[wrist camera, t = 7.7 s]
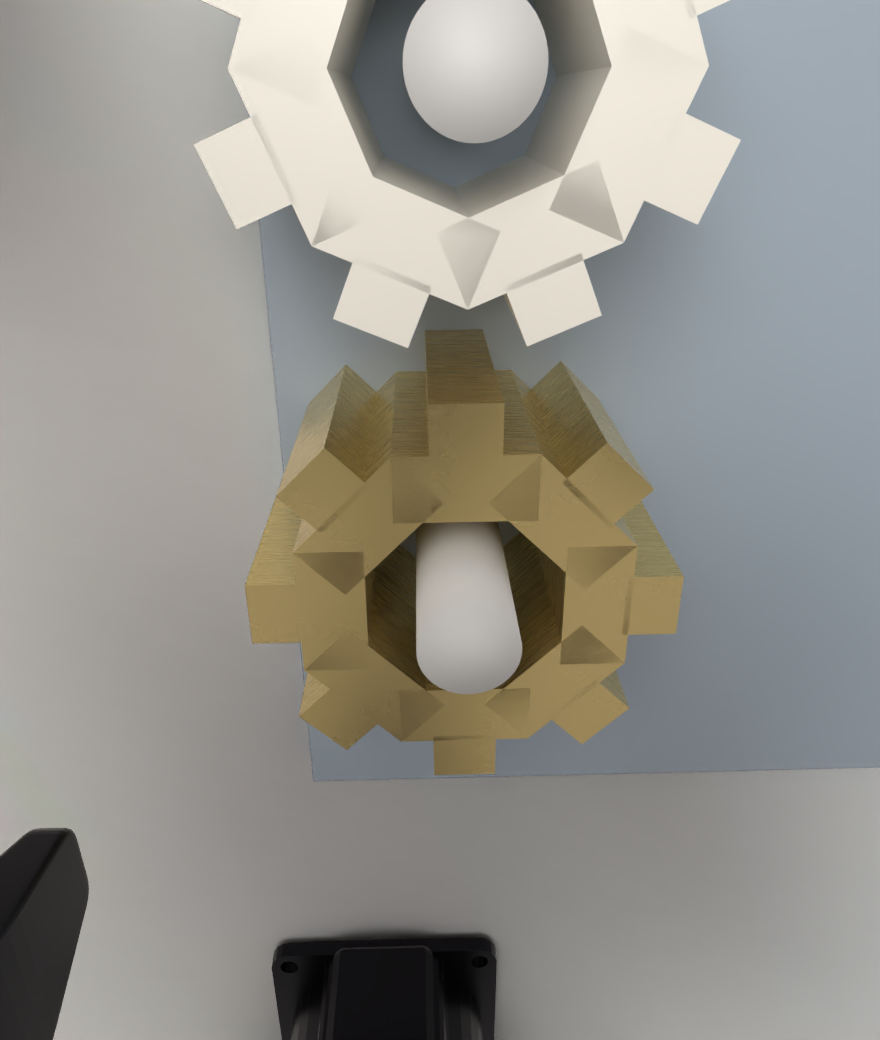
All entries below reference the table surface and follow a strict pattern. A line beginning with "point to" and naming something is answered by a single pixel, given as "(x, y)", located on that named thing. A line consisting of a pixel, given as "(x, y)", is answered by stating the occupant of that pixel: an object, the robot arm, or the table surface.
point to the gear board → (658, 388)
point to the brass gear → (460, 498)
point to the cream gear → (489, 197)
